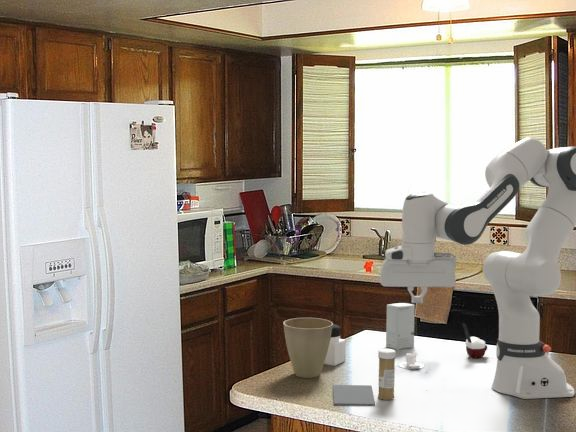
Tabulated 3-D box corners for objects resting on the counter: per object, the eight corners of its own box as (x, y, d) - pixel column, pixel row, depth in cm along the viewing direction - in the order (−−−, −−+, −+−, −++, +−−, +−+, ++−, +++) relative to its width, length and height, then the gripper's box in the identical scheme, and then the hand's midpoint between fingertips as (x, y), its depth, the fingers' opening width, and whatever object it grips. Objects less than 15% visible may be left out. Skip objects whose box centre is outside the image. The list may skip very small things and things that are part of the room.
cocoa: (485, 354, 278) (486, 319, 277) (491, 359, 272) (492, 323, 271) (457, 355, 278) (458, 319, 277) (462, 360, 271) (463, 323, 270)
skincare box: (397, 350, 284) (397, 306, 283) (384, 346, 289) (385, 304, 287) (415, 346, 289) (415, 304, 287) (402, 343, 294) (403, 301, 292)
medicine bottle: (345, 361, 270) (346, 324, 269) (334, 366, 264) (335, 328, 263) (326, 358, 274) (326, 321, 273) (315, 362, 268) (315, 325, 267)
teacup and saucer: (420, 372, 259) (420, 359, 259) (395, 369, 262) (395, 356, 261) (426, 365, 267) (426, 352, 267) (401, 362, 270) (401, 350, 269)
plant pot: (276, 379, 250) (276, 326, 248) (291, 366, 264) (291, 316, 262) (325, 383, 245) (325, 329, 243) (337, 370, 259) (338, 319, 258)
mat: (371, 387, 242) (371, 385, 242) (375, 405, 225) (375, 403, 225) (333, 386, 242) (333, 384, 242) (333, 405, 225) (333, 403, 225)
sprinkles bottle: (376, 395, 233) (377, 348, 232) (392, 395, 234) (393, 347, 233) (379, 400, 229) (380, 352, 228) (396, 400, 229) (397, 351, 228)
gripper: (454, 251, 230) (453, 301, 231) (379, 250, 231) (379, 300, 232) (458, 254, 224) (457, 305, 225) (381, 253, 225) (380, 304, 226)
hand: (417, 302), depth 229 cm, fingers closed
